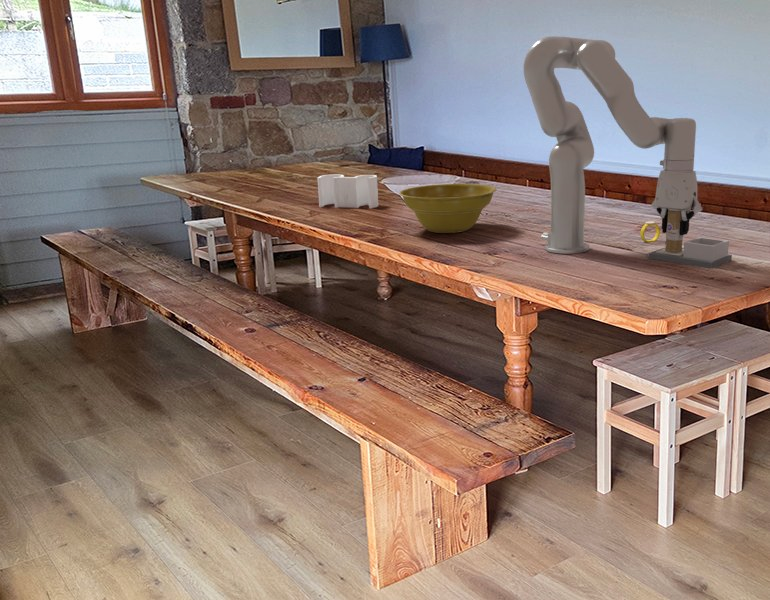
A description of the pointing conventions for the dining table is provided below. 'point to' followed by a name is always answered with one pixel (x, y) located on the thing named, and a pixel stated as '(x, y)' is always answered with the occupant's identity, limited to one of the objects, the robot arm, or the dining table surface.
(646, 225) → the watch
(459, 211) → the planter bowl
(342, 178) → the bracket
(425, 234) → the dining table surface
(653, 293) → the dining table surface
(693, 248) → the grey tray with box
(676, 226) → the sprinkles bottle
